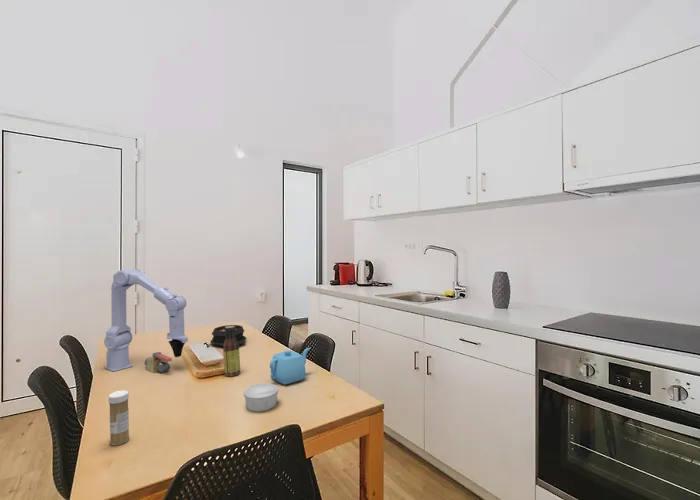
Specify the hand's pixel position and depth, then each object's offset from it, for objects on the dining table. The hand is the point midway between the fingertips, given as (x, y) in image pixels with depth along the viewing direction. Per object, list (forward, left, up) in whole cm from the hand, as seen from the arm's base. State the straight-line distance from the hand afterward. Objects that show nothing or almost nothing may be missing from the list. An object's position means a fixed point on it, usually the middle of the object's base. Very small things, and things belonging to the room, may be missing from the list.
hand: (177, 356), depth 151 cm
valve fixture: (-8, -5, -6) cm, 11 cm away
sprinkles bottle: (+41, -39, -6) cm, 56 cm away
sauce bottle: (+25, +9, -6) cm, 27 cm away
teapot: (+49, +19, -6) cm, 53 cm away
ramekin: (+57, -3, -6) cm, 57 cm away
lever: (-3, -5, 0) cm, 6 cm away
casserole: (-16, +37, -6) cm, 41 cm away
